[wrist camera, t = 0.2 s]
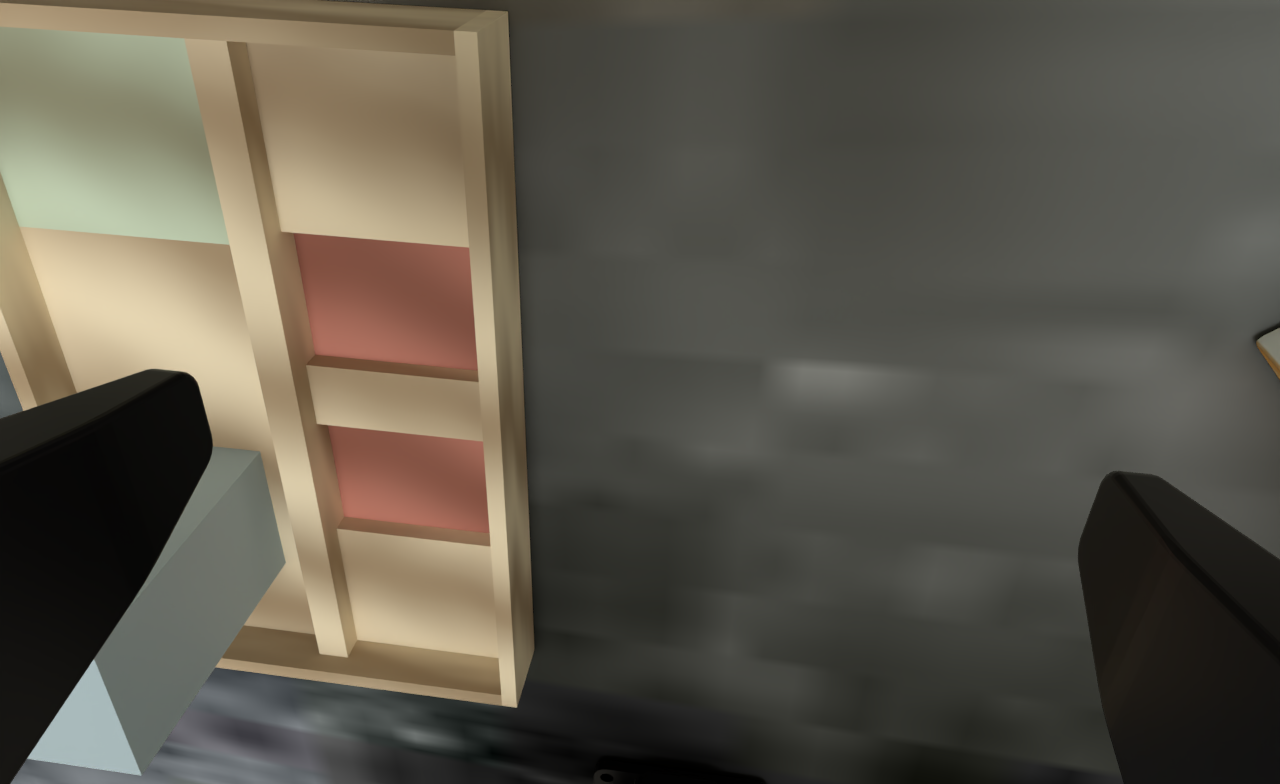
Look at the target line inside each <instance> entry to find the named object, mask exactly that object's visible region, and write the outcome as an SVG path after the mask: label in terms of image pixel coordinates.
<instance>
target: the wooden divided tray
mask: <svg viewBox="0 0 1280 784" xmlns="http://www.w3.org/2000/svg"><path fill="white" fill-rule="evenodd" d="M0 351H1V354H2V356H3V359H4V362H5V364H6V367H7V369H8V372H9V374H10V377H11V380H12V382H13V385H14V387H15V390H16V393H17V395H18V398H19V400H20V403H21V405H22V408H23V411H25V410H28V409H31V408H34V407H37V406H39V405H42V404H45V403H48V402H51V401H54V400H57V399H60V398H63V397H66V396H69V395H72V394H75V393H78V392H81V391H84V390H87V389H90V388H93V387H96V386H99V385H102V384H105V383H108V382H111V381H114V380H117V379H120V378H123V377H126V376H129V375H132V374H135V373H138V372H141V371H144V370H147V369H163V370H173V371H182V372H187V373H189V374H190V375H192V376H193V377H194V378H195V380H196V381H197V383H198V385H199V388H200V392H201V396H202V400H203V403H204V407H205V411H206V415H207V419H208V422H209V426H210V430H211V434H212V438H213V446H215V447H224V448H233V449H242V450H251V451H260V453H261V457H262V462H263V466H264V470H265V475H266V479H267V483H268V488H269V492H270V496H271V501H272V505H273V509H274V514H275V518H276V522H277V527H278V531H279V535H280V540H281V544H282V548H283V553H284V557H285V561H286V563H285V565H284V566H283V568H282V569H281V571H280V572H279V574H278V575H277V577H276V578H275V580H274V581H273V582H272V584H271V585H270V587H269V588H268V590H267V591H266V593H265V594H264V596H263V597H262V599H261V600H260V602H259V603H258V605H257V606H256V608H255V609H254V611H253V612H252V613H251V615H250V616H249V618H248V619H247V621H246V622H245V624H244V625H243V627H242V628H241V630H240V631H239V633H238V634H237V636H236V637H235V639H234V640H233V642H232V643H231V644H230V646H229V647H228V649H227V650H226V652H225V653H224V655H223V656H222V658H221V659H220V661H219V662H218V664H217V665H216V667H218V668H226V669H233V670H240V671H248V672H255V673H263V674H270V675H278V676H285V677H293V678H300V679H307V680H315V681H322V682H330V683H337V684H345V685H352V686H360V687H367V688H374V689H382V690H389V691H397V692H404V693H412V694H419V695H427V696H434V697H442V698H449V699H456V700H464V701H471V702H479V703H486V704H494V705H501V706H509V707H516V708H517V706H518V702H519V699H520V696H521V692H522V689H523V686H524V683H525V679H526V676H527V673H528V669H529V666H530V663H531V660H532V656H533V653H534V626H533V602H532V578H531V554H530V530H529V506H528V482H527V458H526V434H525V410H524V386H523V361H522V337H521V313H520V289H519V265H518V241H517V217H516V193H515V169H514V145H513V121H512V97H511V73H510V49H509V24H508V11H493V10H476V9H459V8H442V7H425V6H408V5H391V4H374V3H357V2H340V1H323V0H0Z"/></svg>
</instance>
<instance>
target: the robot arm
mask: <svg viewBox="0 0 1280 784" xmlns="http://www.w3.org/2000/svg"><path fill="white" fill-rule="evenodd" d="M212 450H213V438H212V434H211V430H210V426H209V422H208V419H207V415H206V411H205V407H204V403H203V400H202V396H201V392H200V388H199V385H198V383H197V381H196V380H195V378H194V377H193V376H192V375H190V374H189V373H187V372H182V371H173V370H163V369H147V370H144V371H141V372H138V373H135V374H132V375H129V376H126V377H123V378H120V379H117V380H114V381H111V382H108V383H105V384H102V385H99V386H96V387H93V388H90V389H87V390H84V391H81V392H78V393H75V394H72V395H69V396H66V397H63V398H60V399H57V400H54V401H51V402H48V403H45V404H42V405H39V406H37V407H34V408H31V409H28V410H25V411H22V412H19V413H16V414H13V415H10V416H7V417H4V418H1V419H0V784H10V783H11V782H12V780H13V779H14V777H15V776H16V774H17V773H18V771H19V770H20V768H21V767H22V766H23V764H24V763H25V761H26V760H27V758H28V757H29V755H30V754H31V752H32V751H33V749H34V748H35V746H36V745H37V743H38V742H39V740H40V739H41V737H42V736H43V734H44V733H45V731H46V730H47V728H48V727H49V725H50V724H51V722H52V721H53V719H54V718H55V716H56V715H57V713H58V712H59V710H60V709H61V707H62V706H63V705H64V703H65V702H66V700H67V699H68V697H69V696H70V694H71V693H72V691H73V690H74V688H75V687H76V685H77V684H78V682H79V681H80V679H81V678H82V676H83V675H84V673H85V672H86V670H87V669H88V667H89V666H90V664H91V663H92V661H93V660H94V658H95V657H96V655H97V654H98V652H99V651H100V649H101V648H102V647H103V645H104V644H105V642H106V641H107V639H108V638H109V636H110V635H111V633H112V632H113V630H114V629H115V627H116V626H117V624H118V623H119V621H120V620H121V618H122V617H123V615H124V614H125V612H126V611H127V609H128V608H129V606H130V605H131V603H132V602H133V600H134V599H135V597H136V596H137V594H138V593H139V591H140V589H141V588H142V586H143V585H144V583H145V581H146V580H147V578H148V576H149V574H150V573H151V571H152V569H153V567H154V566H155V564H156V562H157V560H158V559H159V557H160V555H161V553H162V551H163V549H164V547H165V545H166V543H167V542H168V540H169V538H170V536H171V534H172V532H173V530H174V528H175V526H176V524H177V523H178V521H179V519H180V517H181V515H182V513H183V511H184V509H185V507H186V506H187V504H188V502H189V500H190V498H191V496H192V494H193V492H194V490H195V489H196V487H197V485H198V483H199V481H200V479H201V477H202V475H203V473H204V471H205V470H206V468H207V466H208V464H209V461H210V459H211V455H212ZM1078 564H1079V571H1080V577H1081V583H1082V589H1083V595H1084V601H1085V608H1086V614H1087V620H1088V626H1089V632H1090V638H1091V644H1092V651H1093V657H1094V663H1095V669H1096V675H1097V681H1098V687H1099V692H1100V697H1101V702H1102V708H1103V711H1104V715H1105V719H1106V723H1107V727H1108V730H1109V734H1110V738H1111V741H1112V744H1113V748H1114V751H1115V755H1116V758H1117V761H1118V765H1119V768H1120V772H1121V775H1122V779H1123V782H1124V784H1280V559H1279V558H1277V557H1276V556H1274V555H1273V554H1271V553H1270V552H1268V551H1267V550H1265V549H1264V548H1263V547H1261V546H1260V545H1258V544H1257V543H1255V542H1254V541H1252V540H1251V539H1249V538H1248V537H1247V536H1245V535H1244V534H1242V533H1241V532H1239V531H1238V530H1236V529H1235V528H1233V527H1232V526H1231V525H1229V524H1228V523H1226V522H1225V521H1223V520H1222V519H1220V518H1219V517H1217V516H1216V515H1214V514H1213V513H1212V512H1210V511H1209V510H1207V509H1206V508H1204V507H1203V506H1201V505H1200V504H1198V503H1197V502H1196V501H1194V500H1193V499H1191V498H1190V497H1188V496H1187V495H1185V494H1184V493H1182V492H1181V491H1180V490H1178V489H1177V488H1175V487H1174V486H1172V485H1171V484H1169V483H1168V482H1166V481H1165V480H1163V479H1162V478H1160V477H1159V476H1155V475H1152V474H1143V473H1133V472H1123V471H1113V472H1111V473H1109V474H1107V475H1106V476H1105V478H1104V479H1103V480H1102V482H1101V484H1100V487H1099V489H1098V492H1097V495H1096V497H1095V500H1094V503H1093V505H1092V508H1091V511H1090V514H1089V516H1088V519H1087V522H1086V524H1085V527H1084V530H1083V533H1082V535H1081V538H1080V542H1079V549H1078ZM594 784H763V783H761V782H759V781H754V780H747V779H740V778H733V777H726V776H718V775H711V774H704V773H697V772H689V771H682V770H675V769H668V768H661V767H653V766H646V765H639V764H632V763H625V762H617V761H610V760H603V761H599V762H598V763H597V764H596V767H595V772H594Z"/></svg>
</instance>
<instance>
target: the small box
mask: <svg viewBox="0 0 1280 784" xmlns="http://www.w3.org/2000/svg"><path fill="white" fill-rule="evenodd" d="M1256 344H1257V347H1258V349H1259V350H1260V351H1261V353H1262V354H1263V356H1264V357H1265V359H1266V360H1267V362H1268V363H1269V365H1270V366H1271V367H1272V369H1273V370H1274V372H1275V373H1276V375H1277V377H1278V378H1279V380H1280V328H1278V329H1276V330H1274V331H1272V332H1270V333H1268V334H1266V335H1264V336H1262V337H1261V338H1260V339H1258V340H1257V342H1256Z"/></svg>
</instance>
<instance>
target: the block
mask: <svg viewBox="0 0 1280 784" xmlns="http://www.w3.org/2000/svg"><path fill="white" fill-rule="evenodd" d="M285 563H286V561H285V557H284V553H283V548H282V544H281V540H280V535H279V531H278V527H277V522H276V518H275V514H274V509H273V505H272V501H271V496H270V492H269V488H268V483H267V479H266V475H265V470H264V466H263V462H262V457H261V453H260V451H251V450H242V449H233V448H224V447H215V446H213V450H212V455H211V459H210V461H209V464H208V466H207V468H206V470H205V471H204V473H203V475H202V477H201V479H200V481H199V483H198V485H197V487H196V489H195V490H194V492H193V494H192V496H191V498H190V500H189V502H188V504H187V506H186V507H185V509H184V511H183V513H182V515H181V517H180V519H179V521H178V523H177V524H176V526H175V528H174V530H173V532H172V534H171V536H170V538H169V540H168V542H167V543H166V545H165V547H164V549H163V551H162V553H161V555H160V557H159V559H158V560H157V562H156V564H155V566H154V567H153V569H152V571H151V573H150V574H149V576H148V578H147V580H146V581H145V583H144V585H143V586H142V588H141V589H140V591H139V593H138V594H137V596H136V597H135V599H134V600H133V602H132V603H131V605H130V606H129V608H128V609H127V611H126V612H125V614H124V615H123V617H122V618H121V620H120V621H119V623H118V624H117V626H116V627H115V629H114V630H113V632H112V633H111V635H110V636H109V638H108V639H107V641H106V642H105V644H104V645H103V647H102V648H101V649H100V651H99V652H98V654H97V655H96V657H95V658H94V660H93V661H92V663H91V664H90V666H89V667H88V669H87V670H86V672H85V673H84V675H83V676H82V678H81V679H80V681H79V682H78V684H77V685H76V687H75V688H74V690H73V691H72V693H71V694H70V696H69V697H68V699H67V700H66V702H65V703H64V705H63V706H62V707H61V709H60V710H59V712H58V713H57V715H56V716H55V718H54V719H53V721H52V722H51V724H50V725H49V727H48V728H47V730H46V731H45V733H44V734H43V736H42V737H41V739H40V740H39V742H38V743H37V745H36V746H35V748H34V749H33V751H32V752H31V754H30V755H29V757H28V758H27V759H33V760H40V761H47V762H53V763H60V764H67V765H74V766H81V767H87V768H94V769H101V770H108V771H114V772H121V773H128V774H135V775H142V774H143V773H144V771H145V770H146V768H147V767H148V766H149V764H150V763H151V761H152V760H153V758H154V757H155V755H156V754H157V752H158V751H159V749H160V748H161V746H162V745H163V743H164V742H165V740H166V739H167V737H168V736H169V735H170V733H171V732H172V730H173V729H174V727H175V726H176V724H177V723H178V721H179V720H180V718H181V717H182V715H183V714H184V712H185V711H186V709H187V708H188V706H189V705H190V704H191V702H192V701H193V699H194V698H195V696H196V695H197V693H198V692H199V690H200V689H201V687H202V686H203V684H204V683H205V681H206V680H207V678H208V677H209V675H210V674H211V673H212V671H213V670H214V668H215V667H216V665H217V664H218V662H219V661H220V659H221V658H222V656H223V655H224V653H225V652H226V650H227V649H228V647H229V646H230V644H231V643H232V642H233V640H234V639H235V637H236V636H237V634H238V633H239V631H240V630H241V628H242V627H243V625H244V624H245V622H246V621H247V619H248V618H249V616H250V615H251V613H252V612H253V611H254V609H255V608H256V606H257V605H258V603H259V602H260V600H261V599H262V597H263V596H264V594H265V593H266V591H267V590H268V588H269V587H270V585H271V584H272V582H273V581H274V580H275V578H276V577H277V575H278V574H279V572H280V571H281V569H282V568H283V566H284V565H285Z"/></svg>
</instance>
